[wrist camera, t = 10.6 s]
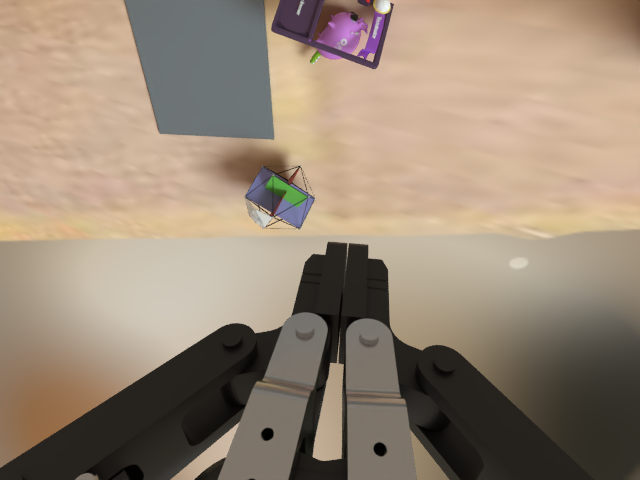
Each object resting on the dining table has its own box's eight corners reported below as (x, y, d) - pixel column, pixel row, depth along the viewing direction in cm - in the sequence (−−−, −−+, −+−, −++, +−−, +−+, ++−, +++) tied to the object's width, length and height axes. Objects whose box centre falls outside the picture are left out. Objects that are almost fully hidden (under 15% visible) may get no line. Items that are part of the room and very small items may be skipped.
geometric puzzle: (277, 139, 40) (258, 171, 33) (330, 173, 41) (321, 210, 35) (249, 187, 44) (227, 224, 37) (298, 216, 45) (285, 256, 39)
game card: (294, -48, 29) (397, -6, 31) (288, 4, 35) (376, 38, 36) (271, 20, 28) (381, 61, 29) (268, 64, 33) (361, 97, 34)
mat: (262, -19, 32) (261, -19, 31) (274, 138, 40) (273, 139, 40) (120, -20, 33) (119, -20, 33) (160, 133, 41) (159, 133, 41)
